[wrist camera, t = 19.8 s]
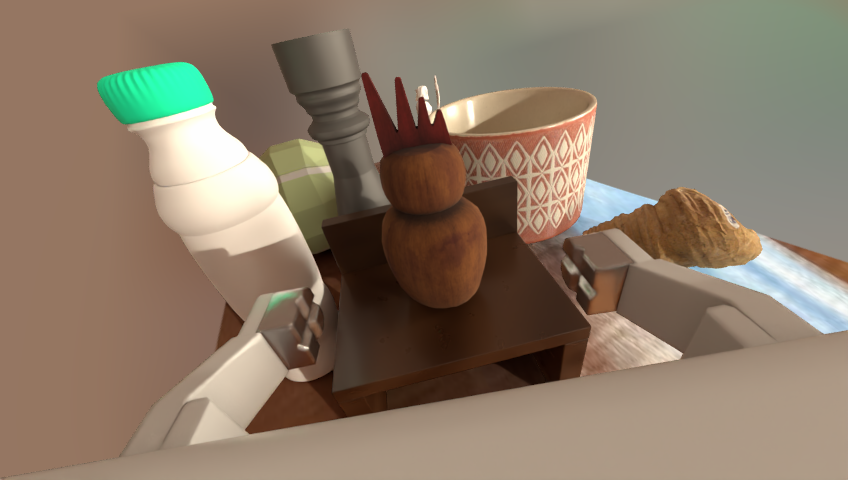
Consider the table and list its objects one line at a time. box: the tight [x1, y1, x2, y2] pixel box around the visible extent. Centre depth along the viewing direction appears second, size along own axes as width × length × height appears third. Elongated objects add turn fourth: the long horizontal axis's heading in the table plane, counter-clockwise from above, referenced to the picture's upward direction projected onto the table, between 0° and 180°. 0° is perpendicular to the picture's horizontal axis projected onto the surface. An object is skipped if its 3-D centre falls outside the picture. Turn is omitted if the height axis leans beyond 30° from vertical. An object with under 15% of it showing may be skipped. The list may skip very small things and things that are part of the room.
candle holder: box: [272, 29, 391, 216], centre depth 29 cm, size 6×6×25 cm
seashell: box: [583, 187, 762, 268], centre depth 31 cm, size 14×8×8 cm
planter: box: [429, 87, 597, 244], centre depth 40 cm, size 19×19×15 cm
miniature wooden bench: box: [321, 176, 591, 417], centre depth 24 cm, size 16×12×13 cm
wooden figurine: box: [361, 72, 487, 308], centre depth 19 cm, size 7×6×15 cm
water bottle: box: [97, 62, 339, 382], centre depth 23 cm, size 7×7×25 cm
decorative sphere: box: [259, 139, 338, 254], centre depth 42 cm, size 15×15×15 cm
